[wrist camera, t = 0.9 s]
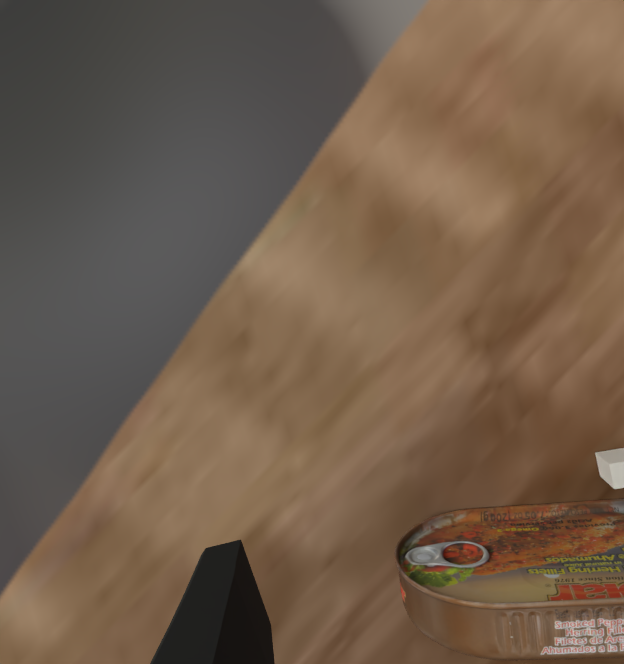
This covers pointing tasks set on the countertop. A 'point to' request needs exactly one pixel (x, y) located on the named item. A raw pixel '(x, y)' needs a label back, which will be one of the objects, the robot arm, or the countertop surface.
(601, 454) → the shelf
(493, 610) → the tin
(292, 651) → the countertop surface
